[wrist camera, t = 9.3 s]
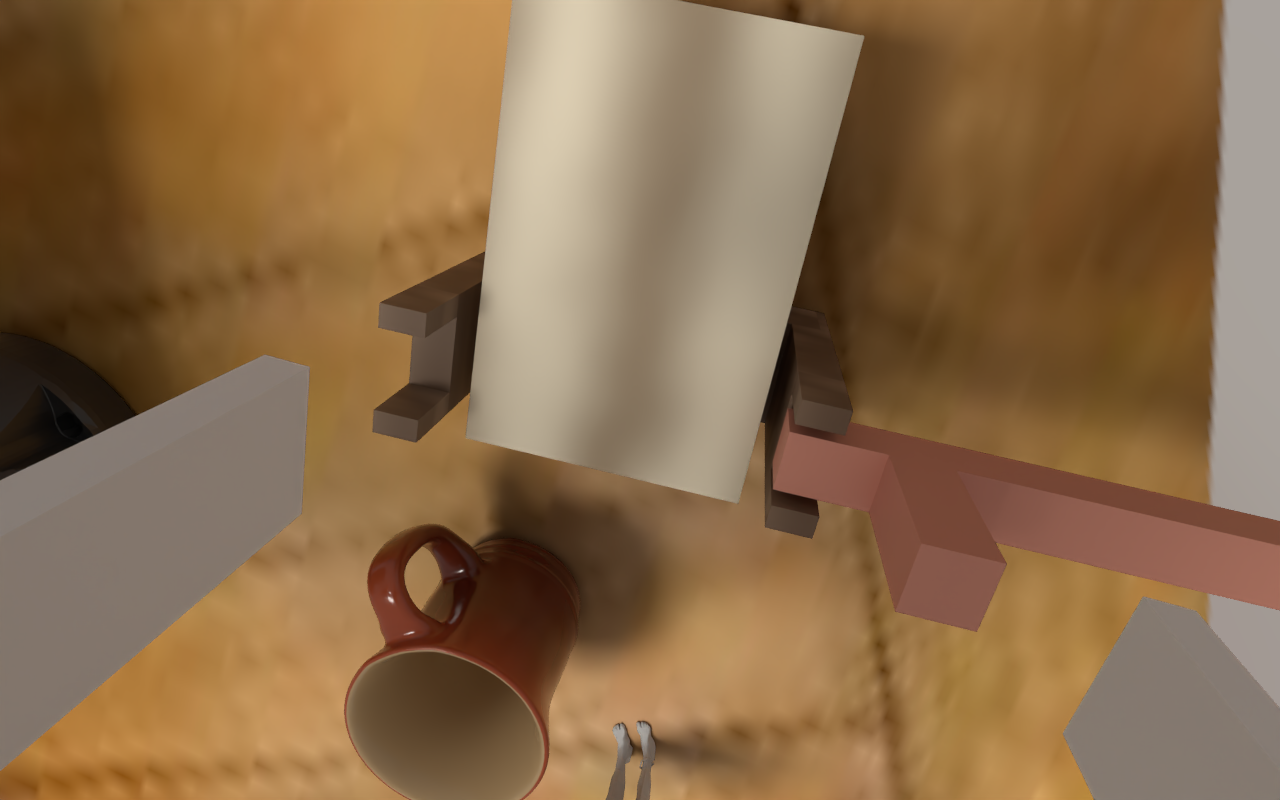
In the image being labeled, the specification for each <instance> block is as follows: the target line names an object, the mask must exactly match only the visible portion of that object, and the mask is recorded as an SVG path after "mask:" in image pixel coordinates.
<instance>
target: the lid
mask: <svg viewBox="0 0 1280 800" xmlns="http://www.w3.org/2000/svg"><path fill="white" fill-rule="evenodd" d="M863 40H864V36H863V35H857V34H852V33H847V32H842V31H836V30H831V29H826V28H821V27H815V26H810V25H805V24H800V23H794V22H789V21H784V20H779V19H773V18H768V17H763V16H758V15H752V14H747V13H742V12H737V11H731V10H726V9H721V8H716V7H710V6H705V5H700V4H695V3H689V2H684V1H679V0H512V8H511V17H510V27H509V36H508V45H507V55H506V64H505V73H504V83H503V92H502V101H501V111H500V120H499V129H498V139H497V148H496V157H495V167H494V176H493V185H492V195H491V204H490V213H489V223H488V232H487V242H486V251H485V260H484V270H483V279H482V288H481V298H480V307H479V316H478V326H477V335H476V344H475V354H474V363H473V372H472V382H471V391H470V400H469V410H468V419H467V428H466V438H467V439H472V440H476V441H480V442H484V443H488V444H492V445H496V446H501V447H505V448H509V449H513V450H517V451H521V452H525V453H530V454H534V455H538V456H542V457H546V458H550V459H555V460H559V461H563V462H567V463H571V464H575V465H579V466H584V467H588V468H592V469H596V470H600V471H604V472H608V473H613V474H617V475H621V476H625V477H629V478H633V479H637V480H642V481H646V482H650V483H654V484H658V485H662V486H667V487H671V488H675V489H679V490H683V491H687V492H691V493H696V494H700V495H704V496H708V497H712V498H716V499H720V500H725V501H729V502H733V503H737V504H738V503H739V499H740V495H741V492H742V488H743V484H744V480H745V477H746V473H747V469H748V466H749V462H750V458H751V454H752V451H753V447H754V443H755V440H756V436H757V432H758V429H759V425H760V421H761V417H762V414H763V410H764V406H765V403H766V399H767V395H768V392H769V388H770V384H771V380H772V377H773V373H774V369H775V366H776V362H777V358H778V354H779V351H780V347H781V343H782V340H783V336H784V332H785V329H786V325H787V321H788V317H789V314H790V310H791V306H792V303H793V299H794V295H795V291H796V288H797V284H798V280H799V277H800V273H801V269H802V266H803V262H804V258H805V254H806V251H807V247H808V243H809V240H810V236H811V232H812V229H813V225H814V221H815V217H816V214H817V210H818V206H819V203H820V199H821V195H822V191H823V188H824V184H825V180H826V177H827V173H828V169H829V166H830V162H831V158H832V154H833V151H834V147H835V143H836V140H837V136H838V132H839V128H840V125H841V121H842V117H843V114H844V110H845V106H846V103H847V99H848V95H849V91H850V88H851V84H852V80H853V77H854V73H855V69H856V66H857V62H858V58H859V54H860V51H861V47H862V43H863Z"/></svg>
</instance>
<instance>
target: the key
mask: <svg viewBox="0 0 1280 800" xmlns="http://www.w3.org/2000/svg"><path fill="white" fill-rule="evenodd" d="M773 489H774V490H778V491H782V492H786V493H790V494H795V495H799V496H803V497H807V498H811V499H815V500H820V501H824V502H828V503H832V504H836V505H841V506H845V507H849V508H853V509H857V510H862V511H866V512H869V514H870V518H871V521H872V525H873V529H874V533H875V537H876V540H877V544H878V548H879V552H880V556H881V559H882V563H883V567H884V571H885V575H886V578H887V582H888V586H889V590H890V594H891V597H892V601H893V605H894V609H895V612H899V613H903V614H907V615H911V616H915V617H919V618H923V619H927V620H931V621H935V622H939V623H943V624H947V625H951V626H955V627H960V628H964V629H968V630H972V631H976V632H977V630H978V628H979V626H980V624H981V621H982V619H983V617H984V615H985V612H986V610H987V608H988V606H989V603H990V601H991V599H992V597H993V594H994V592H995V590H996V587H997V585H998V583H999V581H1000V578H1001V576H1002V574H1003V572H1004V569H1005V567H1006V565H1007V563H1006V562H1005V560H1004V558H1003V556H1002V554H1001V552H1000V550H999V549H998V547H997V545H996V543H1000V544H1004V545H1008V546H1012V547H1017V548H1021V549H1025V550H1029V551H1033V552H1037V553H1042V554H1046V555H1050V556H1054V557H1058V558H1063V559H1067V560H1071V561H1075V562H1079V563H1084V564H1088V565H1092V566H1096V567H1100V568H1104V569H1109V570H1113V571H1117V572H1121V573H1125V574H1130V575H1134V576H1138V577H1142V578H1146V579H1151V580H1155V581H1159V582H1163V583H1167V584H1171V585H1176V586H1180V587H1184V588H1188V589H1192V590H1197V591H1201V592H1205V593H1209V594H1213V595H1218V596H1222V597H1226V598H1230V599H1234V600H1239V601H1243V602H1247V603H1251V604H1255V605H1260V606H1264V607H1268V608H1272V609H1276V610H1280V521H1277V520H1273V519H1268V518H1264V517H1260V516H1255V515H1251V514H1247V513H1242V512H1238V511H1234V510H1229V509H1225V508H1220V507H1216V506H1212V505H1207V504H1203V503H1199V502H1194V501H1190V500H1186V499H1181V498H1177V497H1173V496H1168V495H1164V494H1160V493H1155V492H1151V491H1147V490H1142V489H1138V488H1134V487H1129V486H1125V485H1121V484H1116V483H1112V482H1107V481H1103V480H1099V479H1094V478H1090V477H1086V476H1081V475H1077V474H1073V473H1068V472H1064V471H1060V470H1055V469H1051V468H1047V467H1042V466H1038V465H1034V464H1029V463H1025V462H1021V461H1016V460H1012V459H1008V458H1003V457H999V456H994V455H990V454H986V453H981V452H977V451H973V450H968V449H964V448H960V447H955V446H951V445H947V444H942V443H938V442H934V441H929V440H925V439H921V438H916V437H912V436H908V435H903V434H899V433H894V432H890V431H886V430H881V429H877V428H873V427H868V426H864V425H860V424H855V423H851V422H849V425H848V429H847V432H846V435H845V436H844V435H840V434H836V433H831V432H827V431H823V430H818V429H814V428H810V427H805V426H801V425H797V424H795V421H794V411H793V409H790V408H788V409H787V412H786V416H785V420H784V423H783V427H782V430H781V434H780V437H779V441H778V444H777V448H776V451H775V455H774V458H773ZM995 542H996V543H995Z"/></svg>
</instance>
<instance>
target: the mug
mask: <svg viewBox="0 0 1280 800" xmlns="http://www.w3.org/2000/svg"><path fill="white" fill-rule="evenodd" d="M422 546H423V547H425V548H426V549H428V550H429V551H430V552H431V553H432V555H433V556H434V557H435V559H436V561H437V563H438V566H439V569H440V573H441V580H440V582H439V584H438V586H437V587H436V589H435V590H434V592H433V593H432V595H431V596H430V598H429V599H428V601H427V602H426V604H425V605H424V607H423V609H422V610H421V611H420V610H419V609H418V608H417V607H416V605H415V604H414V603H413V601H412V599H411V598H410V596H409V594H408V591H407V589H406V585H405V579H404V572H405V568H406V565H407V563H408V561H409V559H410V558H411V557H412V556H413V555H414V553H415V552H417V551H418V550H419V549H420V548H421V547H422ZM367 584H368V593H369V597H370V600H371V604H372V606H373V609H374V611H375V613H376V615H377V618H378V620H379V624H380V629H381V632H382V634H383V636H384V639H385V646H384V648H383V649H381V650H380V651H379V652H378V653H376V654H375V655H373V656H372V657H371V658H369V659H368V660H367V661H366V662H365V663H364V664H363V665H362V666H361V667H360V669H359V670H358V671H357V673H356V674H355V676H354V678H353V679H352V681H351V683H350V686H349V688H348V691H347V694H346V698H345V704H344V715H345V723H346V728H347V731H348V734H349V737H350V740H351V742H352V744H353V746H354V748H355V750H356V752H357V753H358V755H359V757H360V758H361V760H362V761H363V762H364V763H365V765H366V766H367V767H368V768H369V769H370V770H371V772H372V773H373V774H374V775H375V776H376V777H377V778H379V779H380V780H381V781H382V782H383V783H384V784H386V785H387V786H388V787H389V788H391V789H392V790H394V791H395V792H397V793H398V794H400V795H402V796H403V797H405V798H407V799H409V800H523V799H525V798H526V797H527V796H528V795H529V794H531V793H532V792H533V790H534V789H535V788H536V787H537V785H538V784H539V782H540V781H541V779H542V777H543V775H544V773H545V770H546V767H547V764H548V758H549V708H550V703H551V700H552V697H553V694H554V692H555V690H556V687H557V685H558V683H559V681H560V678H561V676H562V674H563V671H564V669H565V666H566V664H567V661H568V658H569V655H570V653H571V651H572V649H573V647H574V645H575V642H576V639H577V634H578V621H579V613H580V596H579V591H578V588H577V585H576V582H575V580H574V578H573V576H572V575H571V573H570V572H569V570H568V569H567V568H566V566H565V565H564V564H563V563H562V562H561V561H560V560H559V559H558V558H557V557H555V556H554V555H553V554H551V553H550V552H548V551H547V550H545V549H543V548H541V547H540V546H537V545H535V544H532V543H530V542H526V541H523V540H519V539H514V538H505V539H495V540H491V541H487V542H484V543H482V544H480V545H477V546H475V547H473V548H472V547H471V546H470V545H469V544H468V543H467V542H465V541H464V540H463V539H462V538H460V537H459V536H458V535H457V534H455V533H454V532H453V531H451V530H450V529H448V528H447V527H445V526H442V525H439V524H424V525H419V526H416V527H412V528H409V529H406V530H404V531H402V532H400V533H399V534H397V535H395V536H394V537H393V538H391V539H390V540H389V541H388V542H387V543H386V544H384V546H383V547H382V548H381V549H380V550H379V551H378V553H377V554H376V556H375V557H374V558H373V560H372V562H371V565H370V567H369V571H368V580H367Z"/></svg>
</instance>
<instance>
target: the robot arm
mask: <svg viewBox="0 0 1280 800" xmlns="http://www.w3.org/2000/svg"><path fill="white" fill-rule="evenodd" d="M309 373H310V367H308V366H304V365H301V364H297V363H294V362H290V361H286V360H283V359H279V358H275V357H272V356H268V355H263V356H261V357H259V358H257V359H255V360H253V361H250V362H248V363H246V364H244V365H242V366H240V367H238V368H236V369H234V370H231V371H229V372H227V373H225V374H223V375H221V376H219V377H217V378H215V379H213V380H210V381H208V382H206V383H204V384H202V385H200V386H198V387H196V388H194V389H191V390H189V391H187V392H185V393H183V394H181V395H179V396H177V397H175V398H173V399H170V400H168V401H166V402H164V403H162V404H160V405H158V406H156V407H154V408H152V409H149V410H147V411H145V412H143V413H141V414H139V415H137V416H135V415H134V414H133V412H132V411H131V410H130V408H129V407H128V406H127V405H126V403H125V402H124V401H123V400H122V399H121V397H120V396H119V395H118V394H117V393H116V392H115V391H114V390H113V389H112V388H111V387H110V386H109V385H108V384H107V383H106V382H105V381H104V380H103V379H102V378H100V377H99V376H98V375H97V374H96V373H94V372H93V371H92V370H91V369H89V368H88V367H87V366H85V365H84V364H82V363H81V362H79V361H78V360H76V359H75V358H73V357H72V356H70V355H68V354H66V353H65V352H63V351H61V350H59V349H57V348H55V347H53V346H51V345H48V344H46V343H43V342H41V341H38V340H35V339H32V338H28V337H25V336H20V335H15V334H8V333H0V771H1V770H2V769H3V768H4V767H5V766H6V765H8V764H9V763H10V762H11V761H12V760H13V759H15V758H16V757H17V756H18V755H19V754H20V753H22V752H23V751H24V750H25V749H26V748H27V747H29V746H30V745H31V744H32V743H33V742H35V741H36V740H37V739H38V738H39V737H40V736H42V735H43V734H44V733H45V732H46V731H47V730H49V729H50V728H51V727H52V726H53V725H54V724H56V723H57V722H58V721H59V720H60V719H61V718H63V717H64V716H65V715H66V714H67V713H68V712H70V711H71V710H72V709H73V708H74V707H76V706H77V705H78V704H79V703H80V702H81V701H83V700H84V699H85V698H86V697H87V696H88V695H90V694H91V693H92V692H93V691H94V690H95V689H97V688H98V687H99V686H100V685H101V684H102V683H104V682H105V681H106V680H107V679H108V678H109V677H111V676H112V675H113V674H114V673H115V672H117V671H118V670H119V669H120V668H121V667H122V666H124V665H125V664H126V663H127V662H128V661H129V660H131V659H132V658H133V657H134V656H135V655H136V654H138V653H139V652H140V651H141V650H142V649H143V648H145V647H146V646H147V645H148V644H149V643H151V642H152V641H153V640H154V639H155V638H156V637H158V636H159V635H160V634H161V633H162V632H163V631H165V630H166V629H167V628H168V627H169V626H170V625H172V624H173V623H174V622H175V621H176V620H177V619H179V618H180V617H181V616H182V615H183V614H184V613H186V612H187V611H188V610H189V609H190V608H192V607H193V606H194V605H195V604H196V603H197V602H199V601H200V600H201V599H202V598H203V597H204V596H206V595H207V594H208V593H209V592H210V591H211V590H213V589H214V588H215V587H216V586H217V585H218V584H220V583H221V582H222V581H223V580H224V579H225V578H227V577H228V576H229V575H230V574H231V573H233V572H234V571H235V570H236V569H237V568H238V567H240V566H241V565H242V564H243V563H244V562H245V561H247V560H248V559H249V558H250V557H251V556H252V555H254V554H255V553H256V552H257V551H258V550H259V549H261V548H262V547H263V546H264V545H265V544H266V543H268V542H269V541H270V540H271V539H272V538H274V537H275V536H276V535H277V534H278V533H279V532H281V531H282V530H283V529H284V528H285V527H286V526H288V525H289V524H290V523H291V522H292V521H293V520H295V519H296V518H297V517H298V516H299V515H300V514H302V498H303V481H304V463H305V445H306V427H307V409H308V391H309ZM1063 735H1064V737H1065V739H1066V741H1067V744H1068V746H1069V748H1070V750H1071V752H1072V754H1073V756H1074V758H1075V760H1076V762H1077V765H1078V767H1079V769H1080V771H1081V773H1082V775H1083V777H1084V779H1085V781H1086V783H1087V785H1088V788H1089V790H1090V792H1091V794H1092V796H1093V798H1094V800H1280V708H1279V706H1278V705H1277V704H1276V703H1275V702H1274V701H1273V700H1272V698H1271V697H1270V696H1269V695H1268V694H1267V693H1266V691H1265V690H1264V689H1263V688H1262V687H1261V686H1260V685H1259V683H1258V682H1257V681H1256V680H1255V679H1254V678H1253V676H1252V675H1251V674H1250V673H1249V672H1248V671H1247V669H1246V668H1245V667H1244V666H1243V665H1242V664H1241V662H1240V661H1239V660H1238V659H1237V658H1236V657H1235V656H1234V654H1233V653H1232V652H1231V651H1230V650H1229V649H1228V647H1227V646H1226V645H1225V644H1224V643H1223V642H1222V640H1221V639H1220V638H1219V637H1218V636H1217V635H1216V634H1215V632H1214V631H1213V630H1212V629H1211V628H1210V627H1209V625H1208V624H1207V623H1206V622H1205V621H1204V620H1203V618H1202V617H1201V616H1200V615H1199V614H1198V613H1197V612H1196V611H1194V610H1191V609H1187V608H1184V607H1180V606H1176V605H1173V604H1169V603H1165V602H1162V601H1158V600H1154V599H1151V598H1147V597H1144V596H1143V598H1142V599H1141V601H1140V603H1139V605H1138V606H1137V608H1136V610H1135V611H1134V613H1133V615H1132V617H1131V618H1130V620H1129V622H1128V623H1127V625H1126V627H1125V628H1124V630H1123V632H1122V634H1121V635H1120V637H1119V639H1118V640H1117V642H1116V644H1115V645H1114V647H1113V649H1112V651H1111V652H1110V654H1109V656H1108V657H1107V659H1106V661H1105V662H1104V664H1103V666H1102V668H1101V669H1100V671H1099V673H1098V674H1097V676H1096V678H1095V679H1094V681H1093V683H1092V685H1091V686H1090V688H1089V690H1088V691H1087V693H1086V695H1085V697H1084V698H1083V700H1082V702H1081V703H1080V705H1079V707H1078V708H1077V710H1076V712H1075V714H1074V715H1073V717H1072V719H1071V720H1070V722H1069V724H1068V725H1067V727H1066V729H1065V731H1064V732H1063Z"/></svg>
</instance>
